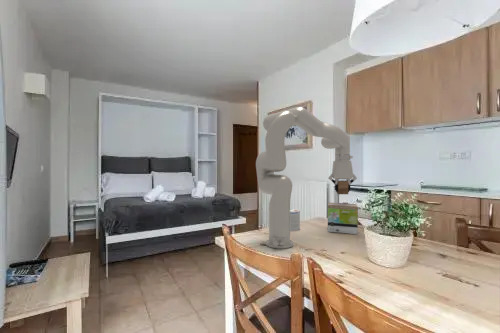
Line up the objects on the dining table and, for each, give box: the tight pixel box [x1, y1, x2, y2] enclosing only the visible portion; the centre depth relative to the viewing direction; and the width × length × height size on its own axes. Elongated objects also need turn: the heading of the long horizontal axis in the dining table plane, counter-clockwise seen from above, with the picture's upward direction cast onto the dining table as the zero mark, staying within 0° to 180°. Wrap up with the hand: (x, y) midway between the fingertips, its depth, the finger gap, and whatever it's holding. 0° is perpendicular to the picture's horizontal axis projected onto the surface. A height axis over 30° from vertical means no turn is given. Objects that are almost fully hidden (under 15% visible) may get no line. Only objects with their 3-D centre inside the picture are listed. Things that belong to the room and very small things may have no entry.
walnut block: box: [336, 180, 349, 195], centre depth 142 cm, size 5×5×7 cm
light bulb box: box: [290, 207, 301, 232], centre depth 148 cm, size 11×7×11 cm, turn 25°
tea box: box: [327, 201, 359, 235], centre depth 142 cm, size 15×10×15 cm
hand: (342, 191), depth 142 cm, fingers closed on walnut block, 5 cm apart
